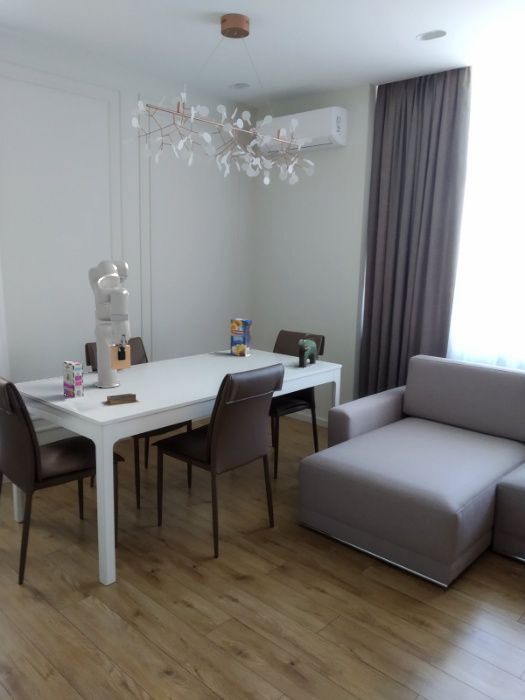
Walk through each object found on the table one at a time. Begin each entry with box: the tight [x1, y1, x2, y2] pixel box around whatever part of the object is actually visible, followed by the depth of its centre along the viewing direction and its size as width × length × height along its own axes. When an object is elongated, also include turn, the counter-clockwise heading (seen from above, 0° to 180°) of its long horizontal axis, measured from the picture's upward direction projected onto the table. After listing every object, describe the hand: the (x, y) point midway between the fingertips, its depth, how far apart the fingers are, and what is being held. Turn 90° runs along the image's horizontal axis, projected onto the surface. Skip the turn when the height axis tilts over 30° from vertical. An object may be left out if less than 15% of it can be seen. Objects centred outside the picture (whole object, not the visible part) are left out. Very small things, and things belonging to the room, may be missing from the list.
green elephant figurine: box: [297, 333, 318, 369], centre depth 339 cm, size 20×6×20 cm, turn 148°
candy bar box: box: [62, 359, 84, 399], centre depth 254 cm, size 11×5×16 cm, turn 45°
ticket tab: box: [110, 344, 132, 370], centre depth 241 cm, size 3×8×10 cm, turn 121°
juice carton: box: [230, 318, 253, 357], centre depth 368 cm, size 12×8×24 cm, turn 60°
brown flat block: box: [103, 393, 140, 407], centre depth 245 cm, size 8×14×4 cm, turn 121°
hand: (120, 358), depth 242 cm, fingers closed on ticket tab, 3 cm apart
